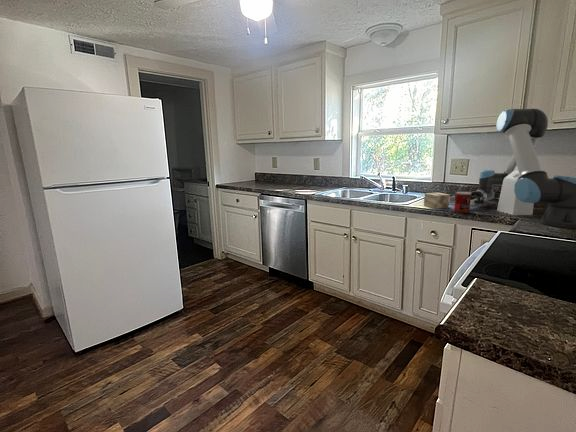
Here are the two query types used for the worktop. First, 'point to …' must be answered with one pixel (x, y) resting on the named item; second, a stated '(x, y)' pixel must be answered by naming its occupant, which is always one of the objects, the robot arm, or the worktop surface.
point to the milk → (512, 197)
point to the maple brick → (436, 200)
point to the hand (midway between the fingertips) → (459, 201)
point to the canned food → (462, 202)
